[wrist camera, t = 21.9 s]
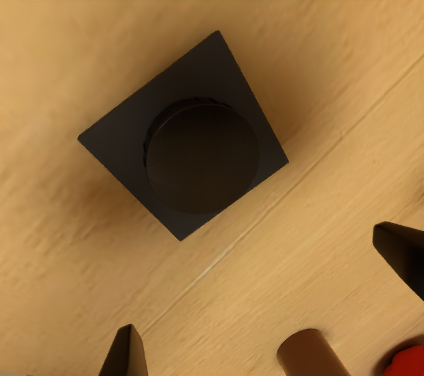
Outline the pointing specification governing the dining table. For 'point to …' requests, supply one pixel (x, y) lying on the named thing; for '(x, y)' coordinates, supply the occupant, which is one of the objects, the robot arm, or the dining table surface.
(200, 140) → the jar lid
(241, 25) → the dining table surface
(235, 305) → the dining table surface
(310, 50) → the dining table surface
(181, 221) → the rubber mat
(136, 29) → the dining table surface
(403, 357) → the tomato
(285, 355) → the jam jar
